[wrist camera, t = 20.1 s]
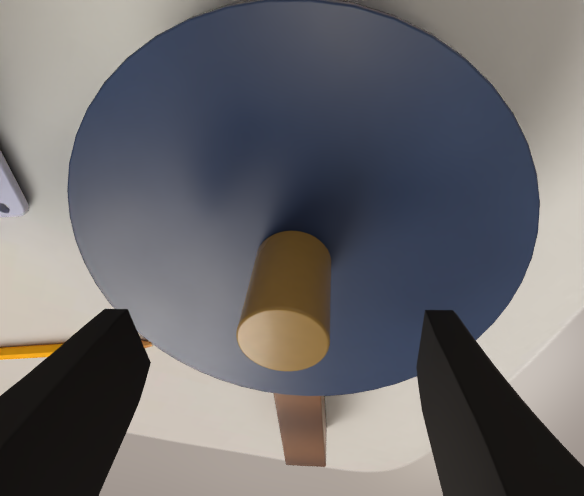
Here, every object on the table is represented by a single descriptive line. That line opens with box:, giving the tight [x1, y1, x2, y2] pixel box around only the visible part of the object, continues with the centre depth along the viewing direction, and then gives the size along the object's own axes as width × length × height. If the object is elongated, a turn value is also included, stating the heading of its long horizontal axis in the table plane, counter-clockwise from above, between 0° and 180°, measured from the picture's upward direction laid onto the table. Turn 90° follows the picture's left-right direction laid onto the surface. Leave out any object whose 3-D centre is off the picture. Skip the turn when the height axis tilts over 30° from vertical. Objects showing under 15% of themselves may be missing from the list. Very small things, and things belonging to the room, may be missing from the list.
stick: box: [274, 393, 327, 467], centre depth 25 cm, size 10×3×3 cm, turn 5°
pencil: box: [0, 340, 154, 360], centre depth 26 cm, size 1×13×1 cm, turn 101°
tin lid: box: [68, 0, 540, 396], centre depth 12 cm, size 14×14×4 cm
